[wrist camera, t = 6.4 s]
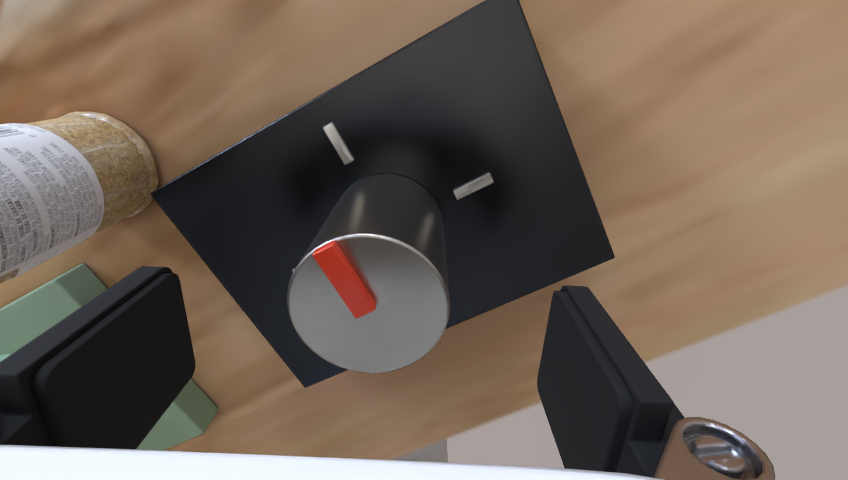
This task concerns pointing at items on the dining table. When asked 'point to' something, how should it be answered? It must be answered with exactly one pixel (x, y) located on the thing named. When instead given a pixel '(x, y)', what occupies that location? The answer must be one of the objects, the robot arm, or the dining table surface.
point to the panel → (411, 158)
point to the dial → (374, 278)
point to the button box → (60, 299)
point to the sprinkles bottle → (67, 184)
